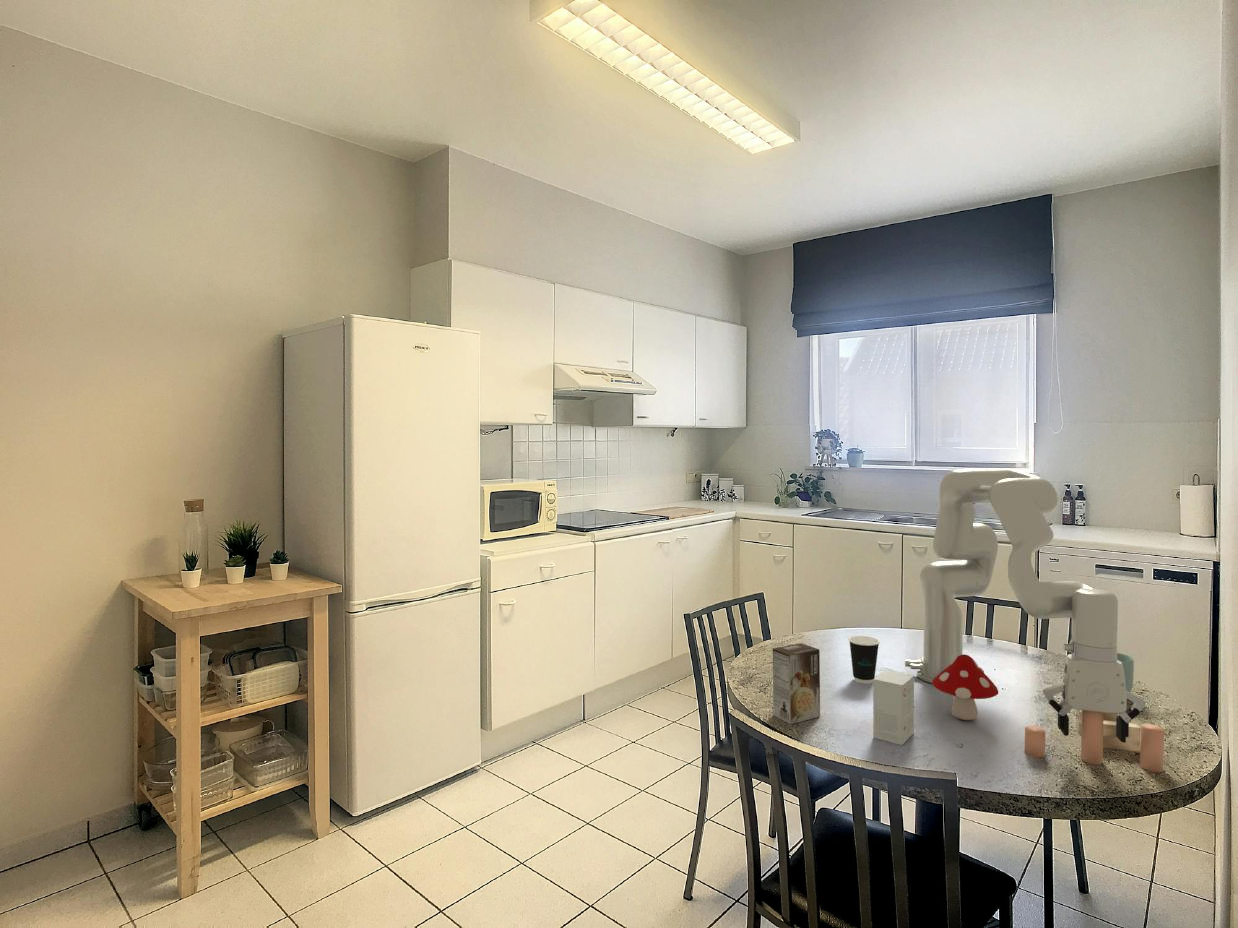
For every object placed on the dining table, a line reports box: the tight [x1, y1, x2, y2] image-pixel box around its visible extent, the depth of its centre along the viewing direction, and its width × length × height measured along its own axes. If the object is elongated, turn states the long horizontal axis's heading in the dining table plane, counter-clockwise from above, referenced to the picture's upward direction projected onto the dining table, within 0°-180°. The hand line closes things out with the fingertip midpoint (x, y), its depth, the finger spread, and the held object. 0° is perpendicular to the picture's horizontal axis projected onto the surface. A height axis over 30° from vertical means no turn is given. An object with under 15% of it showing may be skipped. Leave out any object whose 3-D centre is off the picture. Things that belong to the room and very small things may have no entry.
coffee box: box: [772, 642, 821, 725], centre depth 161 cm, size 9×6×16 cm
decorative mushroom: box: [931, 654, 999, 721], centre depth 159 cm, size 14×14×15 cm
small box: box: [872, 669, 915, 746], centre depth 150 cm, size 8×6×13 cm
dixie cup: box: [848, 635, 881, 685], centre depth 184 cm, size 8×8×11 cm
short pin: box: [1024, 725, 1046, 759], centre depth 142 cm, size 4×4×5 cm
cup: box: [1117, 652, 1135, 693], centre depth 172 cm, size 8×8×10 cm
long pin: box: [1080, 710, 1104, 766], centre depth 138 cm, size 4×4×12 cm
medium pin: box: [1139, 723, 1165, 773], centre depth 135 cm, size 4×4×8 cm
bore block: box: [1075, 710, 1141, 753], centre depth 148 cm, size 9×9×5 cm
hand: (1092, 736), depth 138 cm, fingers open, 9 cm apart
